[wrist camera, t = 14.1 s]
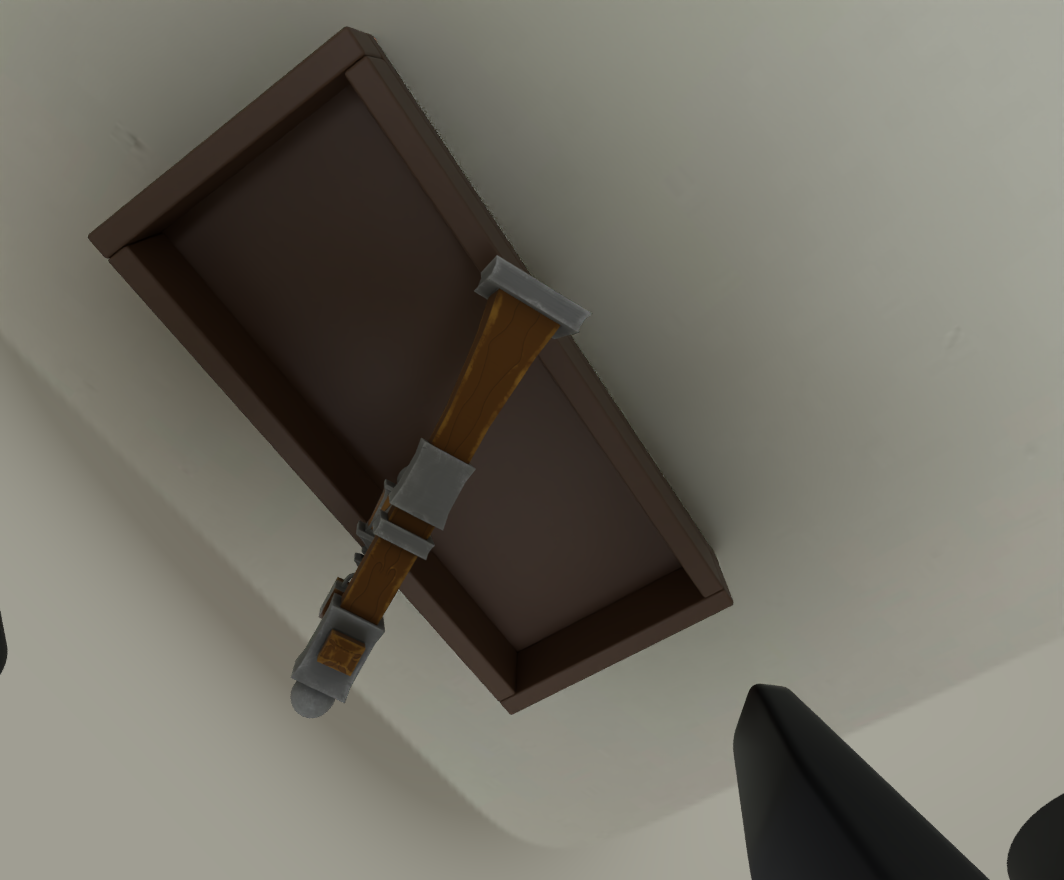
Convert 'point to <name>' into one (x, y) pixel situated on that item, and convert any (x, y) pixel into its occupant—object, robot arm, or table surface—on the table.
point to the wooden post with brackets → (430, 480)
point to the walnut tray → (411, 371)
